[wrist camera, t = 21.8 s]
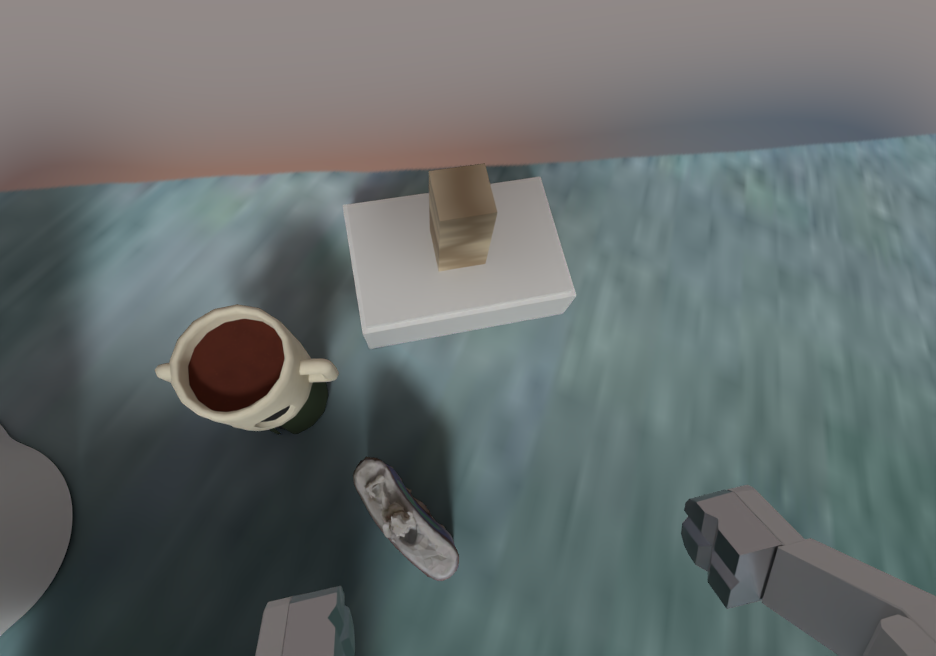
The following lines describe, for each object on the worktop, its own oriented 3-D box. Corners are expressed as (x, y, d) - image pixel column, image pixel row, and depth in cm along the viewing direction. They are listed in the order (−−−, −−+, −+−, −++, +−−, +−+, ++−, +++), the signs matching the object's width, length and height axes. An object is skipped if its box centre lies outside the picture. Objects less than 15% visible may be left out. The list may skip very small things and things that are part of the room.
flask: (460, 544, 38) (469, 566, 28) (432, 572, 37) (431, 605, 27) (385, 455, 40) (367, 445, 30) (357, 481, 39) (329, 479, 29)
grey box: (369, 349, 42) (361, 332, 38) (350, 230, 46) (341, 201, 41) (563, 313, 45) (578, 293, 40) (531, 203, 48) (541, 172, 43)
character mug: (221, 443, 39) (123, 424, 27) (230, 359, 41) (143, 305, 29) (356, 438, 40) (322, 417, 28) (358, 355, 42) (327, 301, 30)
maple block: (438, 271, 40) (439, 221, 32) (429, 229, 41) (428, 171, 33) (485, 263, 40) (497, 212, 33) (475, 222, 41) (484, 163, 34)
